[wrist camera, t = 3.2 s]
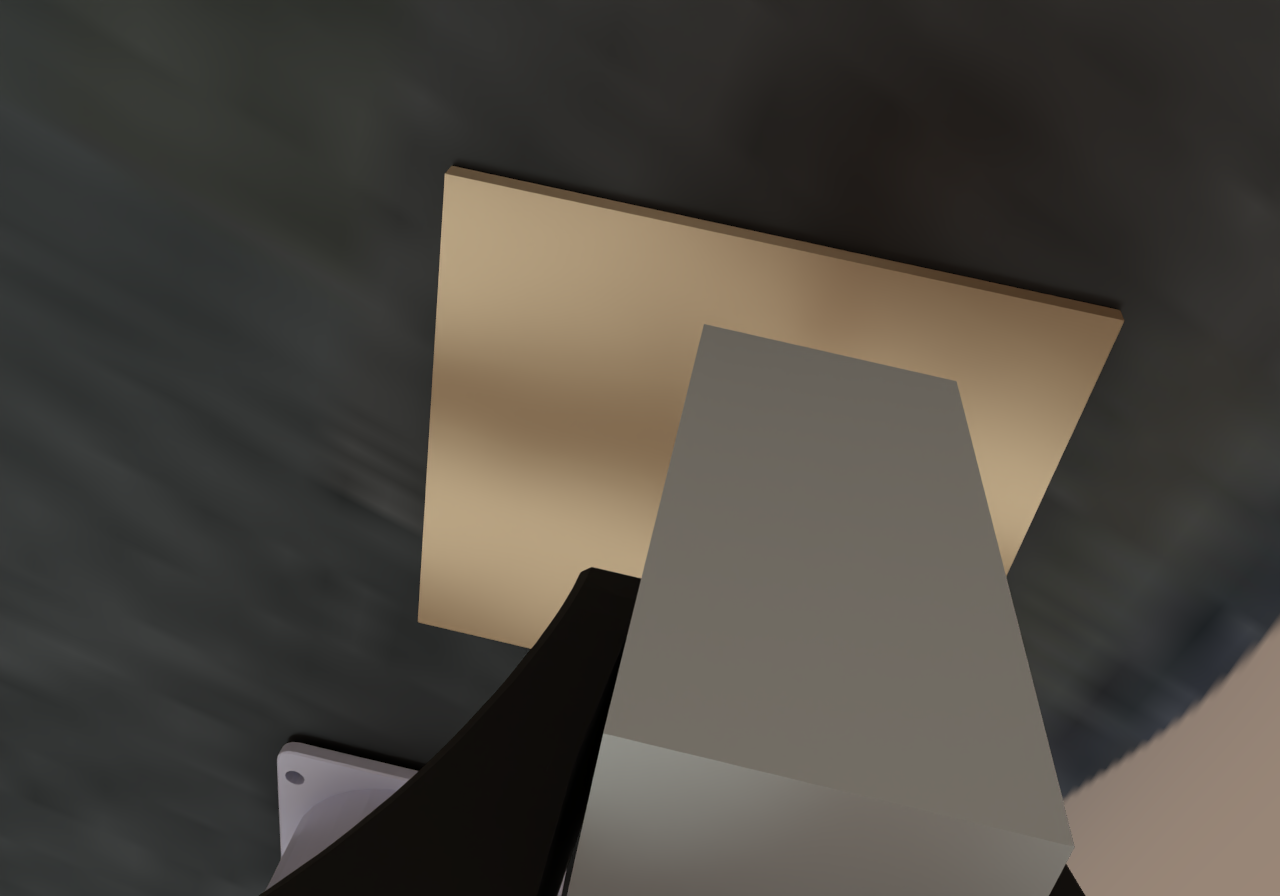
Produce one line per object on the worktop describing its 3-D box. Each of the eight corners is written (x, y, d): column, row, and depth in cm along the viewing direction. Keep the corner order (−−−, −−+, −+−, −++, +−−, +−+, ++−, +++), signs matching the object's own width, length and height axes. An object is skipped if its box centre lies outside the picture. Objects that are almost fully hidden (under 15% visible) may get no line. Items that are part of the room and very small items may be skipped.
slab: (823, 757, 16) (824, 1318, 10) (616, 708, 16) (491, 1234, 10) (955, 381, 13) (1074, 845, 7) (704, 323, 13) (603, 732, 7)
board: (928, 728, 26) (929, 741, 26) (423, 610, 27) (417, 621, 26) (1120, 309, 20) (1123, 320, 19) (452, 165, 20) (445, 173, 20)
